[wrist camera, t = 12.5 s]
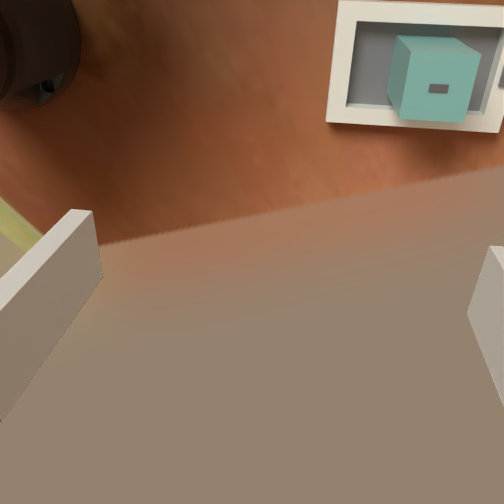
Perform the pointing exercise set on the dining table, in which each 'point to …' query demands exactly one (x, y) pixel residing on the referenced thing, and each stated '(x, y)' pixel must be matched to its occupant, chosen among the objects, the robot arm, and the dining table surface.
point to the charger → (432, 78)
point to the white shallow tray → (381, 52)
